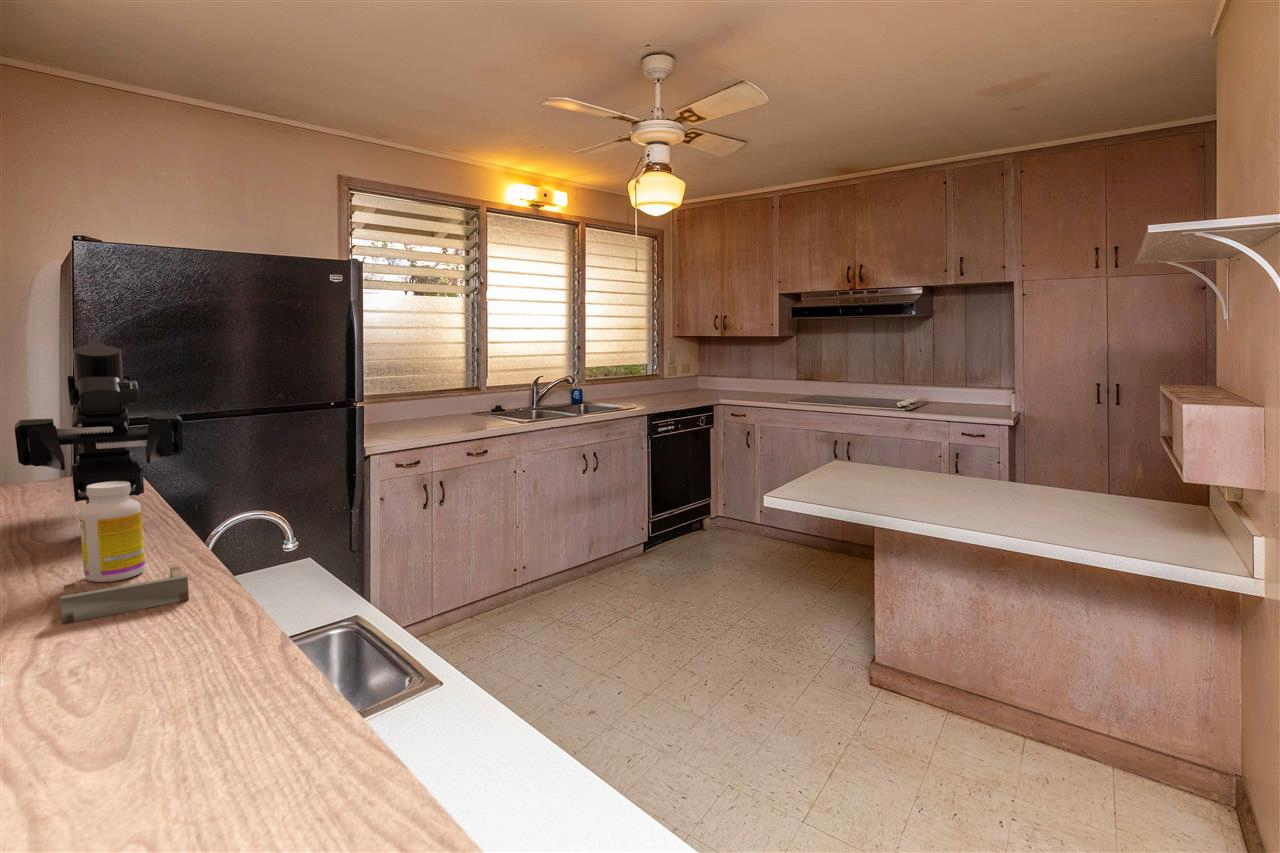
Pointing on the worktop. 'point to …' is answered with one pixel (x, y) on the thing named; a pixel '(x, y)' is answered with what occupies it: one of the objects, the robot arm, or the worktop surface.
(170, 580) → the u-shaped frame
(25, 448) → the robot arm
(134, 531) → the supplement bottle
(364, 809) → the worktop surface
